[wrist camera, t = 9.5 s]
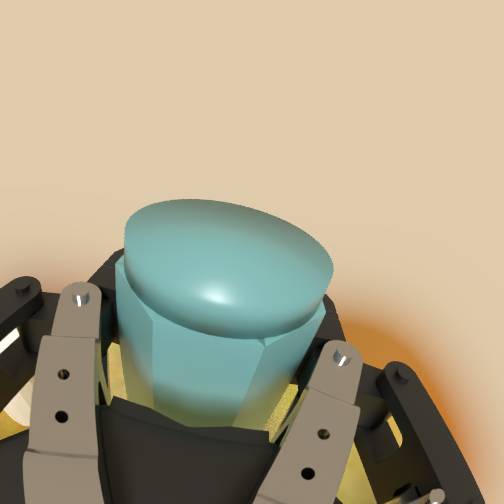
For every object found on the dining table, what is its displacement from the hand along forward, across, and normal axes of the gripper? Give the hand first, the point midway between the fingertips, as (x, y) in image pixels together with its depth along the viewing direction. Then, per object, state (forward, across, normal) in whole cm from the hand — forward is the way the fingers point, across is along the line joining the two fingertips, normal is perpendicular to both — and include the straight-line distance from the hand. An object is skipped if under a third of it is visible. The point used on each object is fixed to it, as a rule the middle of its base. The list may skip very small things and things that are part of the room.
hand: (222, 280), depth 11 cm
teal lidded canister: (-3, 0, +6) cm, 7 cm away
